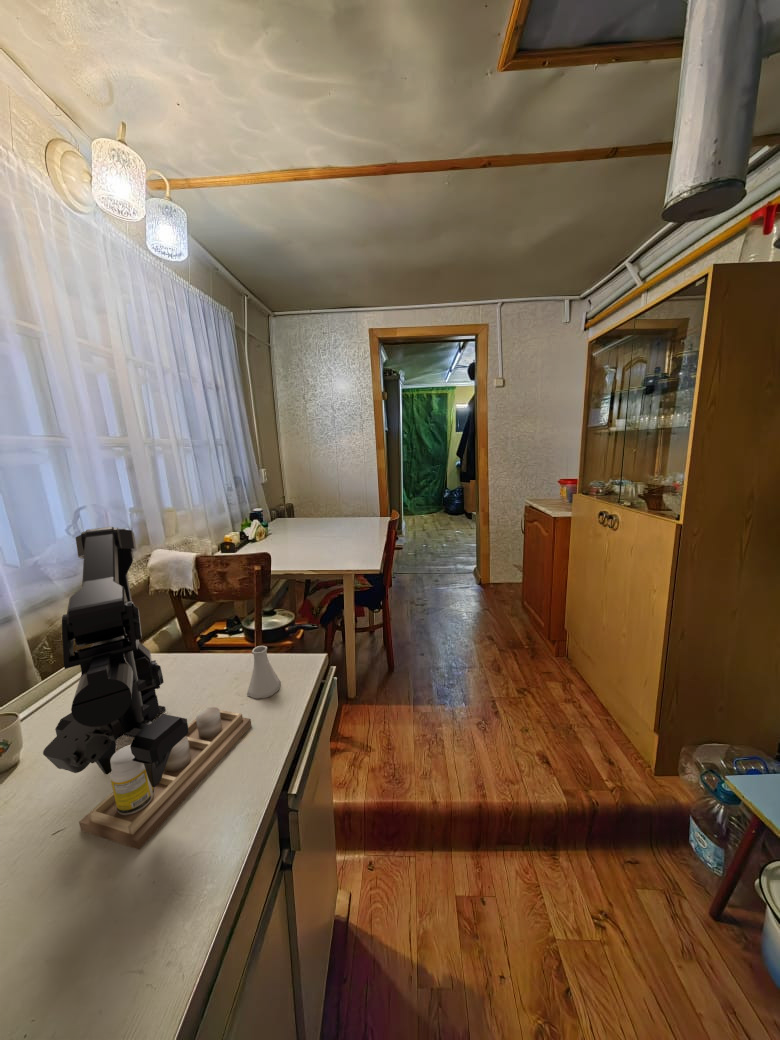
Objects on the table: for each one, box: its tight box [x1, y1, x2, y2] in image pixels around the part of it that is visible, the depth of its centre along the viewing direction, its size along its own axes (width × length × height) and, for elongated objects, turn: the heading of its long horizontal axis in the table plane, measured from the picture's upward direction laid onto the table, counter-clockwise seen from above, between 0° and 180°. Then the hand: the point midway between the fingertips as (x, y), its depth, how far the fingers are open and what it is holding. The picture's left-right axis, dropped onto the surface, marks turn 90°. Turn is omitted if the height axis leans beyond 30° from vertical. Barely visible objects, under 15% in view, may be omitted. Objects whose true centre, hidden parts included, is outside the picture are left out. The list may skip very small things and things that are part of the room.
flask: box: [246, 645, 282, 699], centre depth 85 cm, size 7×7×10 cm
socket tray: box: [78, 706, 252, 851], centre depth 64 cm, size 11×24×5 cm, turn 164°
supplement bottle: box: [109, 744, 154, 815], centre depth 57 cm, size 5×5×8 cm
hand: (132, 778), depth 56 cm, fingers open, 9 cm apart
